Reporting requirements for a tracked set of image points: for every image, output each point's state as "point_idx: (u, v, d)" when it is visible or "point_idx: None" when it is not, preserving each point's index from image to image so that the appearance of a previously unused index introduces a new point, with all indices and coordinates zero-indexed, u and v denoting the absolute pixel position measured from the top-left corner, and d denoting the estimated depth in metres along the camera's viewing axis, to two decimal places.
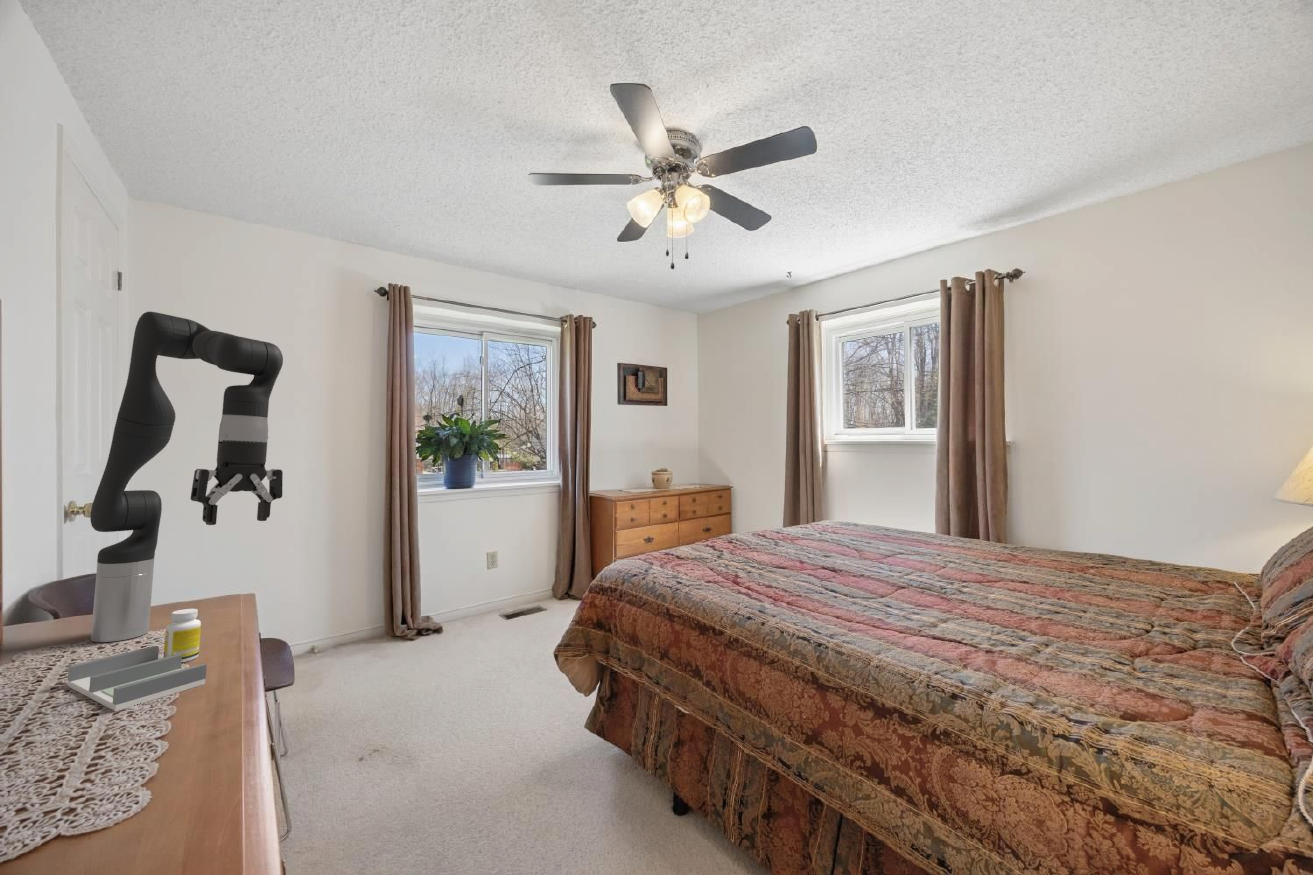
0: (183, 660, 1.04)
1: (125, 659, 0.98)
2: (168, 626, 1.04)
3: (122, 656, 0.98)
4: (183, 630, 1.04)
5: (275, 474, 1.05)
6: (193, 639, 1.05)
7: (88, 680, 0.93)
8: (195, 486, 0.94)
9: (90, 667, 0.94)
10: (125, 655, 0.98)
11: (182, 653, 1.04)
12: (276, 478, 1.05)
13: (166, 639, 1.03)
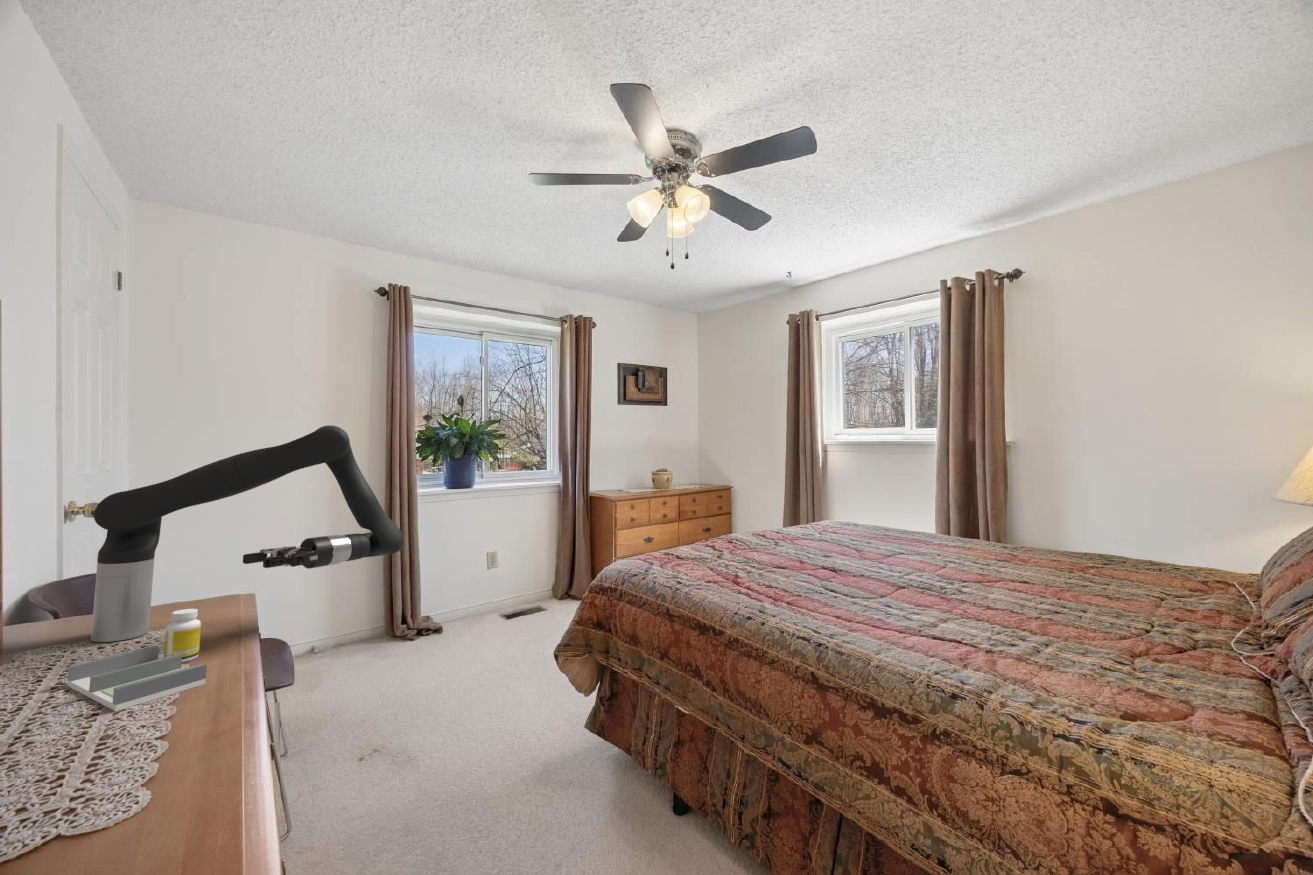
0: (183, 660, 1.04)
1: (125, 659, 0.98)
2: (168, 626, 1.04)
3: (122, 656, 0.98)
4: (183, 630, 1.04)
5: None
6: (193, 639, 1.05)
7: (88, 680, 0.93)
8: (305, 559, 1.20)
9: (90, 667, 0.94)
10: (125, 655, 0.98)
11: (182, 653, 1.04)
12: None
13: (166, 639, 1.03)
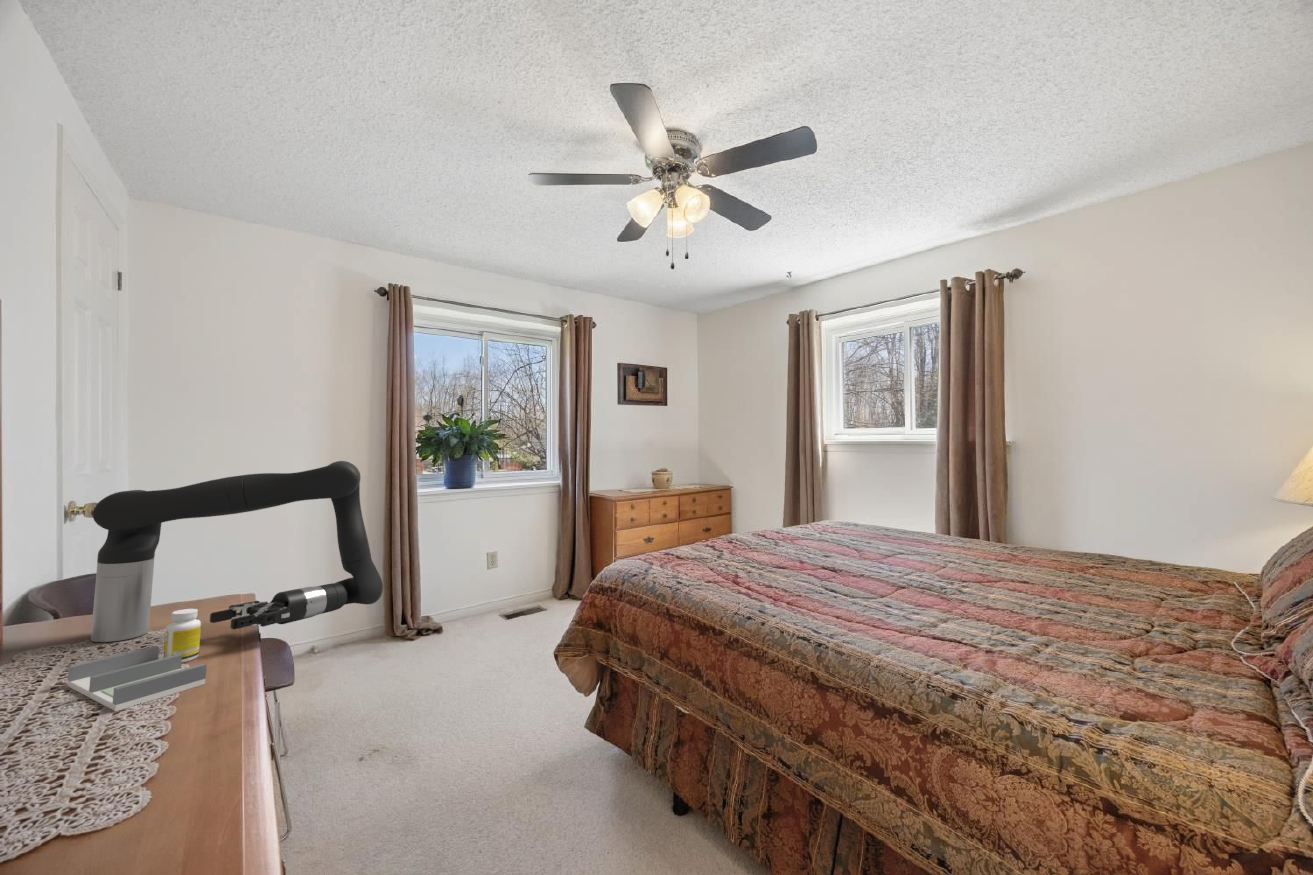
0: (183, 660, 1.04)
1: (125, 659, 0.98)
2: (168, 626, 1.04)
3: (122, 656, 0.98)
4: (183, 630, 1.04)
5: None
6: (193, 639, 1.05)
7: (88, 680, 0.93)
8: (276, 617, 1.15)
9: (90, 667, 0.94)
10: (125, 655, 0.98)
11: (182, 653, 1.04)
12: None
13: (166, 639, 1.03)
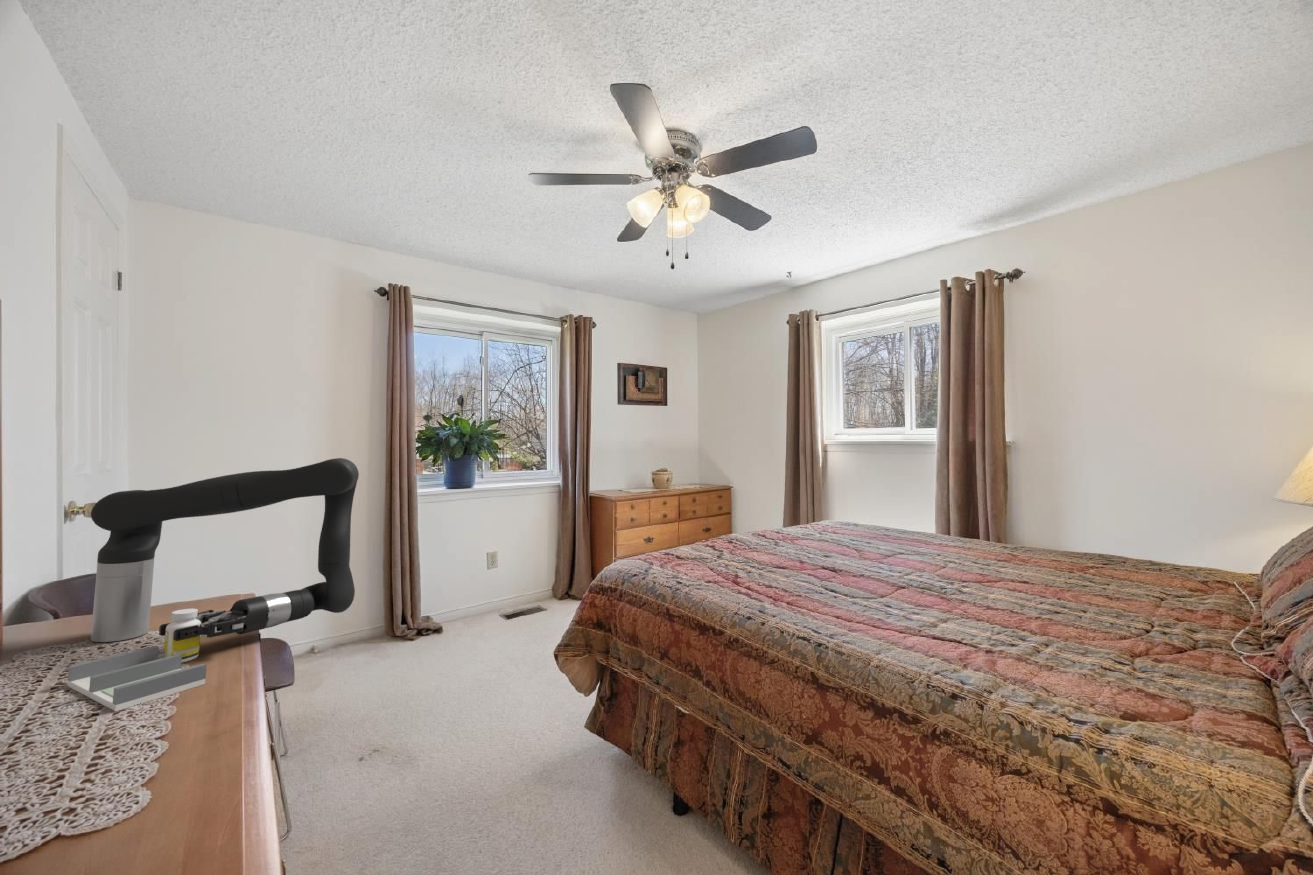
0: (183, 660, 1.04)
1: (125, 659, 0.98)
2: (168, 626, 1.04)
3: (122, 656, 0.98)
4: None
5: None
6: (193, 639, 1.05)
7: (88, 680, 0.93)
8: (225, 628, 1.07)
9: (90, 667, 0.94)
10: (125, 655, 0.98)
11: (182, 653, 1.04)
12: None
13: (166, 639, 1.03)
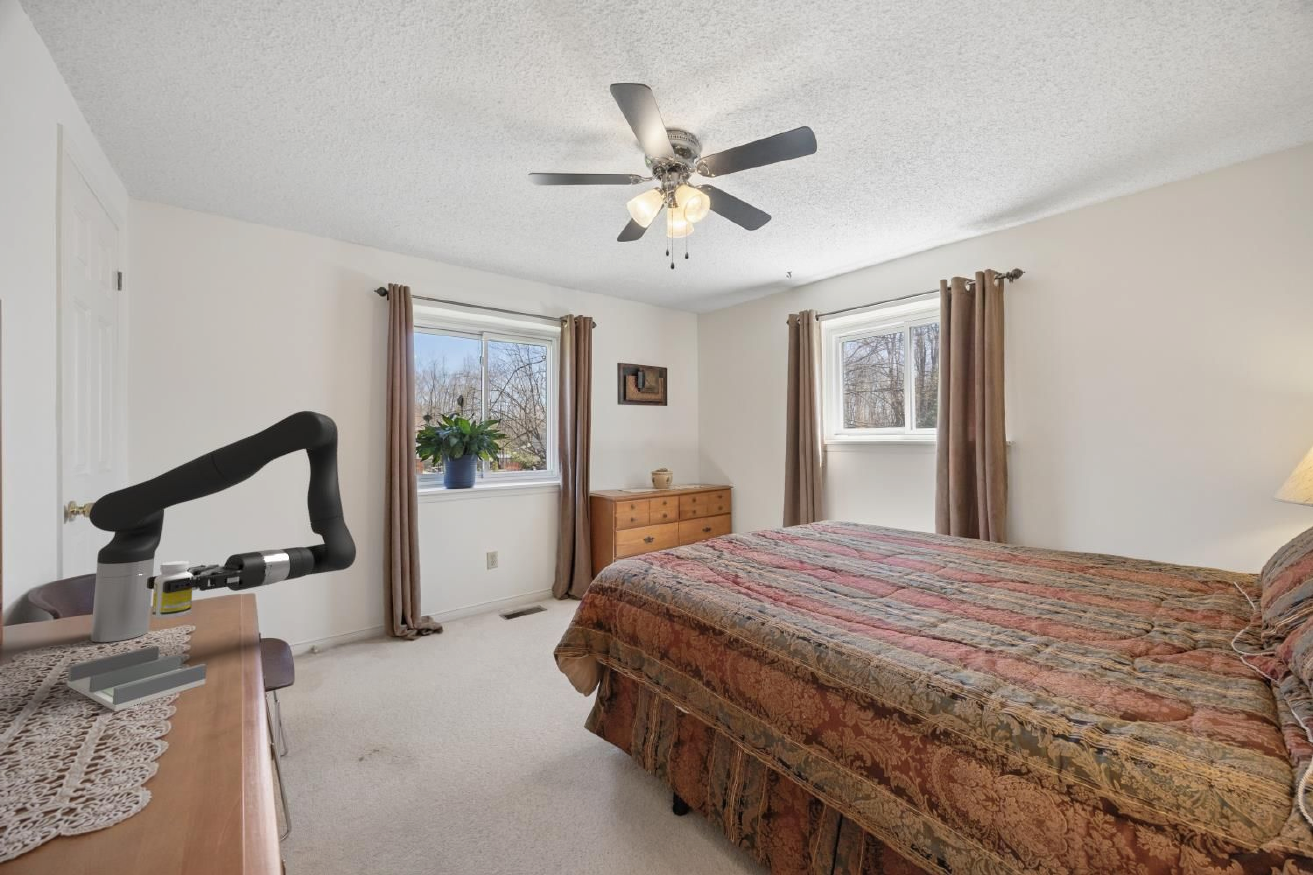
0: (174, 614, 0.96)
1: (125, 659, 0.98)
2: (157, 578, 0.96)
3: (122, 656, 0.98)
4: None
5: None
6: (185, 593, 0.97)
7: (88, 680, 0.93)
8: (219, 581, 0.99)
9: (90, 667, 0.94)
10: (125, 655, 0.98)
11: (173, 607, 0.96)
12: None
13: (155, 592, 0.95)
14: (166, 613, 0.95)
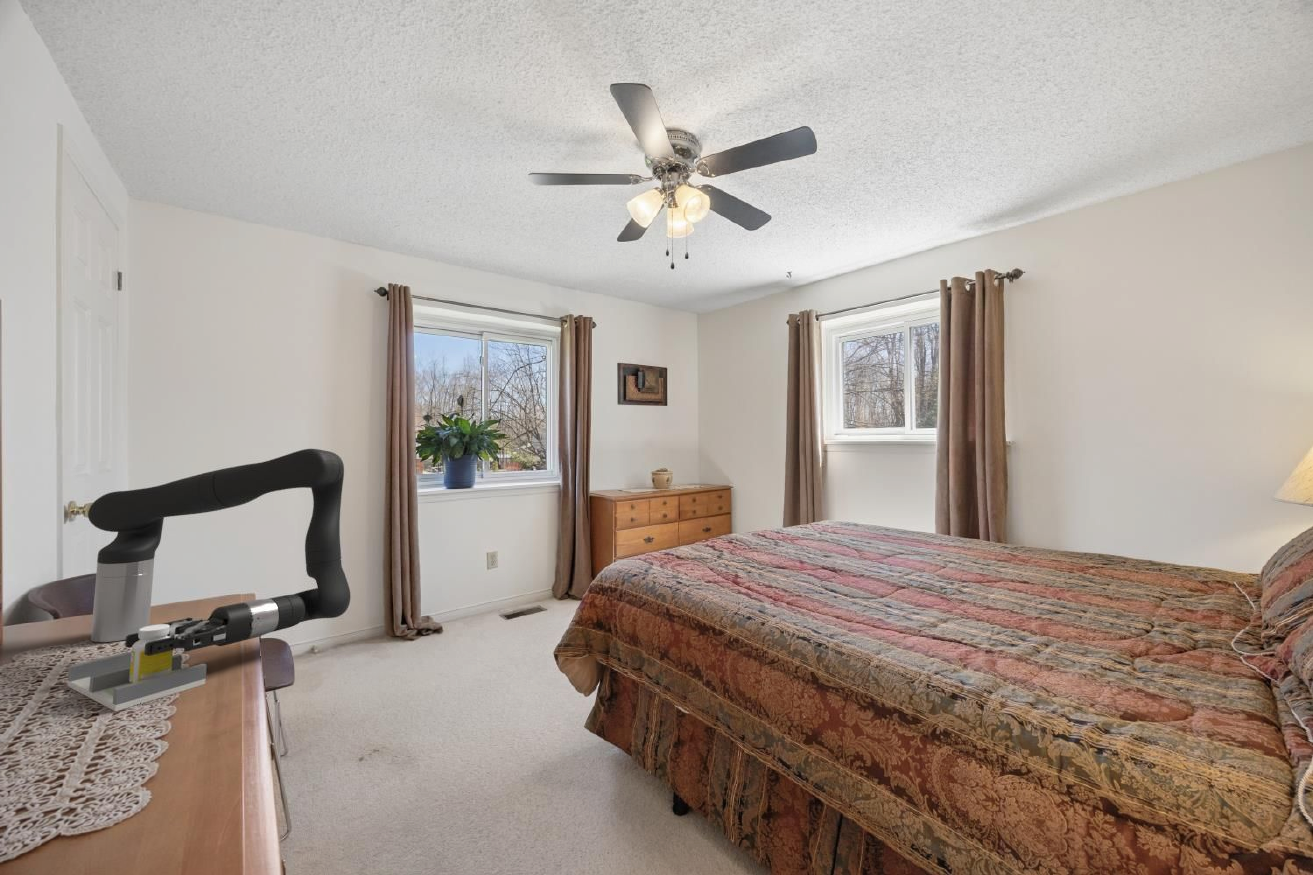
0: None
1: (125, 659, 0.98)
2: (134, 645, 0.90)
3: (122, 656, 0.98)
4: None
5: None
6: (164, 660, 0.92)
7: (88, 680, 0.93)
8: (205, 640, 0.93)
9: (90, 667, 0.94)
10: (125, 655, 0.98)
11: (151, 676, 0.90)
12: None
13: (132, 660, 0.90)
14: None
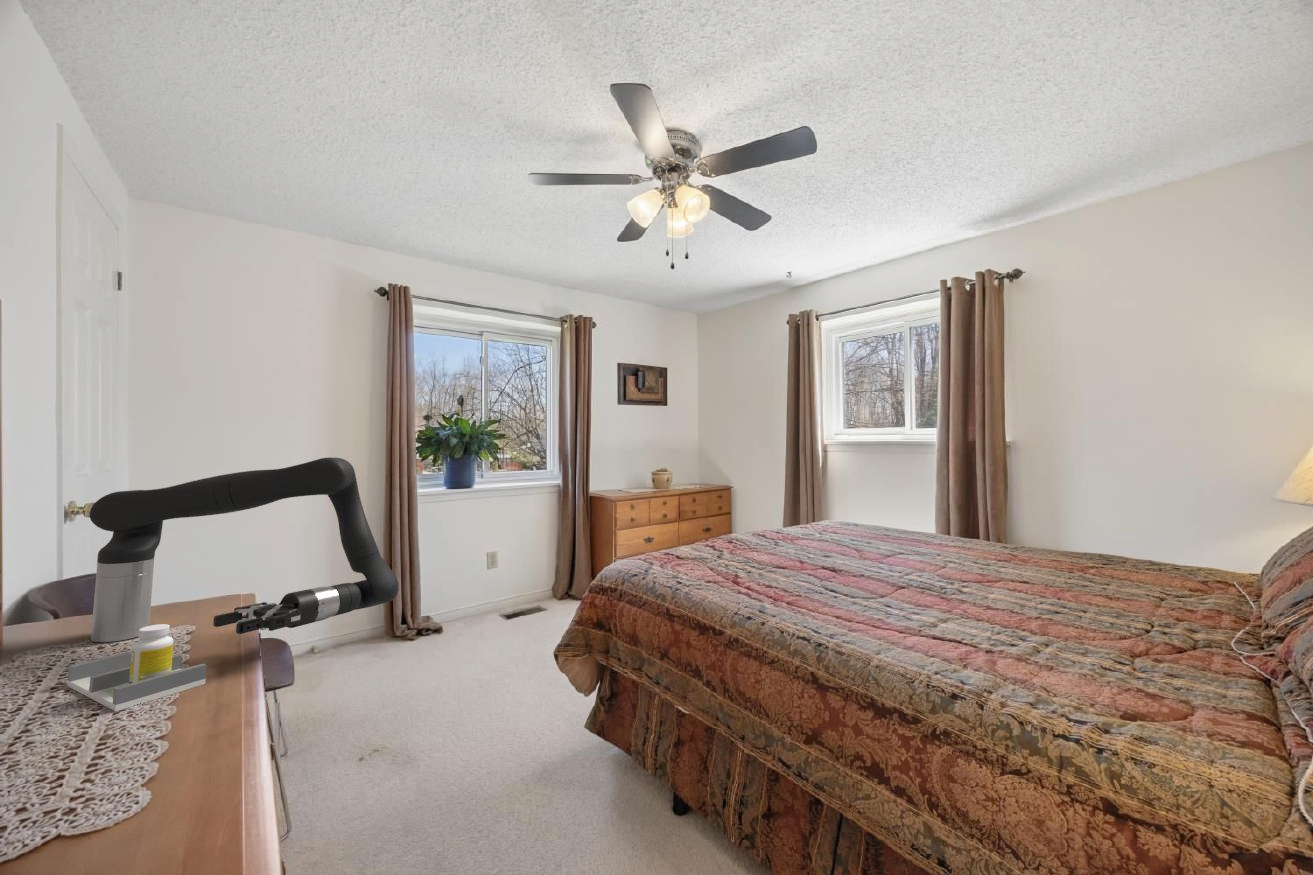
0: None
1: (125, 659, 0.98)
2: (134, 645, 0.90)
3: (122, 656, 0.98)
4: (152, 650, 0.90)
5: None
6: (164, 660, 0.92)
7: (88, 680, 0.93)
8: (285, 620, 1.05)
9: (90, 667, 0.94)
10: (125, 655, 0.98)
11: (151, 676, 0.90)
12: None
13: (132, 660, 0.90)
14: None
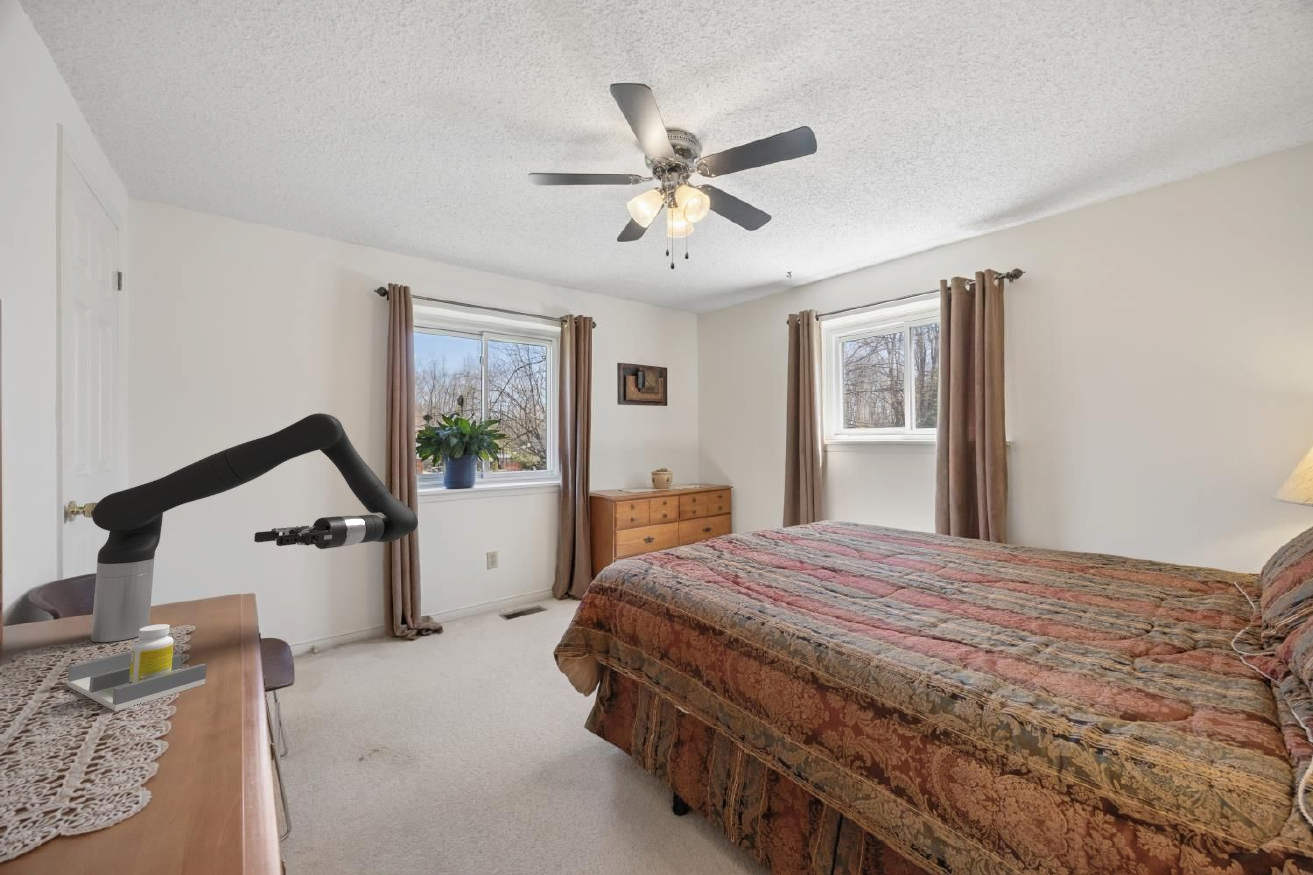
0: None
1: (125, 659, 0.98)
2: (134, 645, 0.90)
3: (122, 656, 0.98)
4: (152, 650, 0.90)
5: None
6: (164, 660, 0.92)
7: (88, 680, 0.93)
8: (319, 537, 1.16)
9: (90, 667, 0.94)
10: (125, 655, 0.98)
11: (151, 676, 0.90)
12: None
13: (132, 660, 0.90)
14: None
